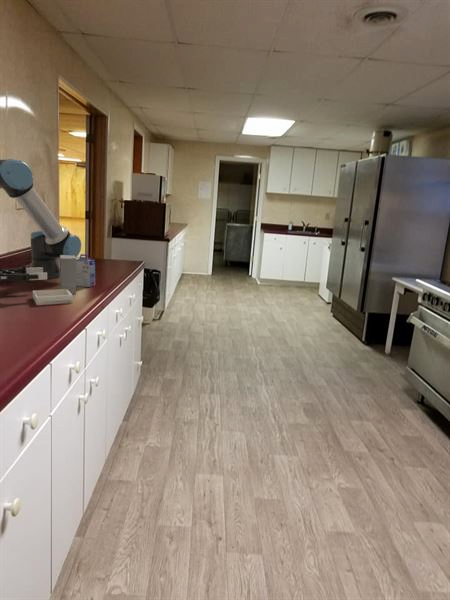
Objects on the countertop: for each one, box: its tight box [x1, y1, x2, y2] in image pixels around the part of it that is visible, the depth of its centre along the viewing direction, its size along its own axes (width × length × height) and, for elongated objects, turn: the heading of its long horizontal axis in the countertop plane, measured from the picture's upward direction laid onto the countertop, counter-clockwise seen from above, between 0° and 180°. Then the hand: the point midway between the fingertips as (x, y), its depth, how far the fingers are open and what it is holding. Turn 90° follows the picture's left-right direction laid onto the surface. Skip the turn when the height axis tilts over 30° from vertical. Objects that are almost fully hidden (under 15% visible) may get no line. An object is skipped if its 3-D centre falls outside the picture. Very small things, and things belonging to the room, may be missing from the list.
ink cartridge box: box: [76, 253, 96, 288], centre depth 197 cm, size 10×6×14 cm, turn 78°
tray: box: [32, 288, 74, 306], centre depth 168 cm, size 13×13×3 cm
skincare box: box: [58, 255, 78, 296], centre depth 180 cm, size 8×7×16 cm
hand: (45, 273), depth 176 cm, fingers open, 13 cm apart
